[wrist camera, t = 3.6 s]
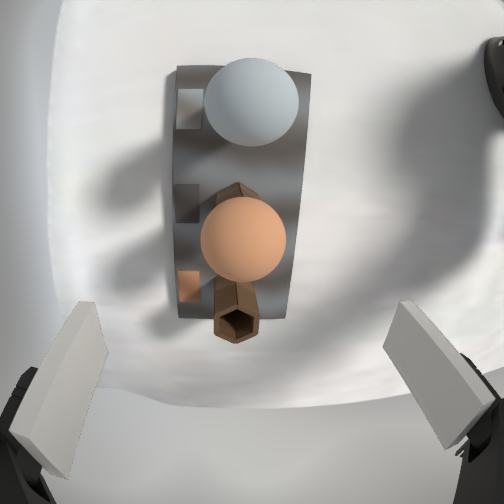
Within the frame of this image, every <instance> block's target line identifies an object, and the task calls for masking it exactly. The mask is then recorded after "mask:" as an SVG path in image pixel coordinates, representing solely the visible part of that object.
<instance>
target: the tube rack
mask: <svg viewBox="0 0 504 504" xmlns="http://www.w3.org/2000/svg"><path fill="white" fill-rule="evenodd" d="M223 67H224V66H215V65H189V66H177V73H176V87H175V104H174V125H173V170H172V191H173V237H174V259H175V277H176V292H177V305H178V317H179V318H199V319H214V334H215V335H216V336H218V337H220V338H222V339H225V340H227V341H229V342H231V343H234V344H235V343H236V344H237V343H240V342H242V341H245V340H247V339H249V338H252V337H254V336H256V335H257V334H258V329H259V319H282V318H285V316H286V309H287V302H288V295H289V288H290V281H291V274H292V267H293V259H294V251H295V243H296V235H297V227H298V219H299V210H300V201H301V192H302V182H303V172H304V162H305V151H306V140H307V128H308V116H309V102H310V88H311V74H307V73H301V72H293V71H286V70H284V71H285V72H286V73H287V74H288V75H289V76H290V77H291V79H292V80H293V82H294V84H295V86H296V89H297V92H298V98H299V107H298V112H297V116H296V118H295V120H294V122H293V124H292V126H291V127H290V128H289V130H288V131H287V132H286V133H285V134H284V135H283V136H281V137H280V138H279V139H277V140H275V141H273V142H271V143H268V144H265V145H261V146H242V145H238V144H235V143H232V142H230V141H228V140H226V139H225V138H223V137H222V136H220V135H219V134H218V133H217V132H216V131H215V130H214V128H213V127H212V126H211V124H210V122H209V120H208V118H207V115H206V112H205V102H204V100H205V93H206V89H207V87H208V84H209V82H210V81H211V79H212V77H213V76H214V75H215V74H216V73H217V72H218V71H219V70H220V69H221V68H223ZM236 197H251V198H255V199H258V200H261V201H263V202H264V203H266V204H268V205H269V206H270V207H271V208H273V209H274V210H275V212H276V213H277V214H278V215H279V217H280V219H281V220H282V223H283V225H284V229H285V233H286V246H285V251H284V254H283V256H282V258H281V260H280V262H279V264H278V265H277V266H276V267H275V269H274V270H273V271H271V272H270V273H269V274H268V275H266V276H265V277H263V278H261V279H258V280H255V281H251V282H235V281H231V280H228V279H226V278H224V277H222V276H220V275H219V274H217V273H216V272H215V271H214V270H213V269H212V268H211V267H210V266H209V264H208V263H207V261H206V260H205V258H204V255H203V252H202V249H201V231H202V227H203V224H204V222H205V220H206V218H207V216H208V215H209V213H210V212H211V211H212V210H213V209H214V208H215V207H216V206H218V205H219V204H220V203H222V202H224V201H226V200H228V199H232V198H236Z"/></svg>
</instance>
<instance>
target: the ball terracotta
mask: <svg viewBox="0 0 504 504" xmlns="http://www.w3.org/2000/svg"><path fill="white" fill-rule="evenodd" d="M285 246H286V233H285V229H284V225H283V223H282V220H281V219H280V217H279V215H278V214H277V213H276V212H275V210H274V209H273V208H271V207H270V206H269V205H268V204H266V203H264V202H263V201H261V200H258V199H255V198H251V197H236V198H232V199H228V200H226V201H224V202H222V203H220V204H219V205H218V206H216V207H215V208H214V209H213V210H212V211H211V212H210V213H209V215H208V216H207V218H206V220H205V222H204V224H203V227H202V231H201V249H202V252H203V255H204V258H205V260H206V261H207V263H208V264H209V266H210V267H211V268H212V269H213V270H214V271H215V272H216V273H217V274H219V275H220V276H222V277H224V278H226V279H228V280H231V281H235V282H251V281H255V280H258V279H261V278H263V277H265V276H266V275H268V274H269V273H270V272H271V271H273V270H274V269H275V267H276V266H277V265H278V264H279V262H280V260H281V258H282V256H283V254H284V251H285Z"/></svg>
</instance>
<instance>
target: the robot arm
mask: <svg viewBox="0 0 504 504" xmlns="http://www.w3.org/2000/svg"><path fill="white" fill-rule="evenodd" d="M485 70H486V76H487V81H488V85H489V88H490V91H491V94H492V97H493V100H494V102H495V104H496V106H497V108H498V110H499V111H500V113H501V115H502V116H503V117H504V36H502V37H494V38H492V39H491V40H490V41H489V42H488V44H487V47H486V51H485ZM383 348H384V350H385V351H386V353H387V354H388V356H389V358H390V359H391V361H392V362H393V364H394V365H395V367H396V369H397V370H398V372H399V373H400V375H401V377H402V378H403V380H404V381H405V383H406V385H407V386H408V388H409V389H410V391H411V393H412V394H413V396H414V398H415V399H416V401H417V403H418V404H419V406H420V408H421V409H422V411H423V413H424V414H425V416H426V417H427V420H428V421H429V423H430V425H431V426H432V428H433V430H434V432H435V434H436V435H437V437H438V439H439V440H440V442H441V444H442V446H443V448H444V450H446V449H448V448H450V447H452V446H454V445H456V444H458V443H459V442H460V441H461V440H462V439H463V438H464V437H465V436H466V435H467V437H468V440H467V441H466V442H465V443H464V444H463V445H462V446H461V447H460V448H459V450H457V451H456V454H455V456H457V455H458V454H459V453H461V451H463V450H464V452H463V453H462V454H461V455H460V457H463V459H462V465H461V470H460V475H459V480H458V485H457V489H456V493H455V498H454V501H453V504H504V398H503V399H501V397H500V396H499V395H498V394H497V392H496V391H495V390H494V389H493V387H492V386H491V385H490V383H489V382H488V381H487V380H486V378H485V377H484V376H483V375H482V373H481V372H480V371H479V370H478V369H476V368H477V367H476V366H475V365H474V364H473V362H472V361H471V360H470V359H469V358H467V357H466V356H465V355H463V354H462V353H459V352H458V351H457V350H456V348H455V347H454V346H453V345H452V344H451V343H450V341H449V340H448V339H447V338H446V337H445V336H444V335H443V333H442V332H441V331H440V330H439V329H438V328H437V327H436V326H435V324H434V323H433V322H432V321H431V320H430V319H429V318H428V317H427V316H426V314H425V313H424V312H423V311H422V310H421V309H420V308H419V307H418V306H417V305H416V304H415V303H414V302H413V300H406V301H399V304H398V307H397V310H396V313H395V316H394V318H393V321H392V324H391V327H390V329H389V332H388V335H387V337H386V340H385V342H384V345H383ZM107 355H108V350H107V347H106V344H105V340H104V337H103V333H102V329H101V326H100V322H99V318H98V314H97V310H96V306H95V302H81V301H79V302H78V303H77V305H76V306H75V308H74V310H73V311H72V313H71V314H70V316H69V317H68V319H67V321H66V322H65V324H64V325H63V327H62V329H61V330H60V332H59V334H58V336H57V337H56V339H55V341H54V342H53V344H52V346H51V347H50V349H49V351H48V353H47V354H46V356H45V358H44V360H43V361H42V363H41V365H40V367H39V368H35V367H30V368H29V369H28V370H27V371H26V372H25V373H23V374H22V375H21V377H20V379H19V381H18V383H17V385H16V388H14V390H13V392H12V396H11V397H10V398H9V400H8V402H7V404H6V406H5V408H4V410H3V412H2V414H1V416H0V504H56V502H55V500H54V498H53V496H52V494H51V492H50V490H49V488H48V486H47V484H46V482H45V480H44V478H43V476H42V475H41V473H40V472H41V469H42V467H43V468H44V469H45V470H46V471H47V472H48V473H49V474H51V475H54V476H57V477H60V478H64V479H67V480H69V476H70V472H71V468H72V464H73V460H74V456H75V453H76V449H77V445H78V442H79V438H80V435H81V431H82V428H83V425H84V421H85V418H86V415H87V411H88V409H89V405H90V402H91V399H92V396H93V394H94V390H95V388H96V385H97V382H98V379H99V376H100V374H101V371H102V368H103V365H104V363H105V360H106V357H107Z"/></svg>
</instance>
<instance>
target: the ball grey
mask: <svg viewBox="0 0 504 504" xmlns="http://www.w3.org/2000/svg"><path fill="white" fill-rule="evenodd" d="M204 102H205V112H206V115H207V118H208V120H209V122H210V124H211V126H212V127H213V128H214V130H215V131H216V132H217V133H218V134H219V135H220V136H222V137H223V138H225V139H226V140H228V141H230V142H232V143H235V144H238V145H242V146H261V145H265V144H268V143H271V142H273V141H275V140H277V139H279V138H280V137H281V136H283V135H284V134H285V133H286V132H287V131H288V130H289V128H290V127H291V126H292V124H293V122H294V120H295V118H296V116H297V112H298V107H299V98H298V92H297V89H296V86H295V84H294V82H293V80H292V79H291V77H290V76H289V75H288V74H287V73H286V72H285V71H284V70H283V69H282V68H281V67H279V66H278V65H276V64H274V63H272V62H270V61H267V60H264V59H258V58H245V59H240V60H236V61H234V62H231V63H229V64H227V65H225V66H224V67H223V68H221V69H220V70H219V71H218V72H217V73H216V74H215V75H214V76H213V77H212V79H211V81H210V82H209V84H208V87H207V89H206V93H205V100H204Z"/></svg>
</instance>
